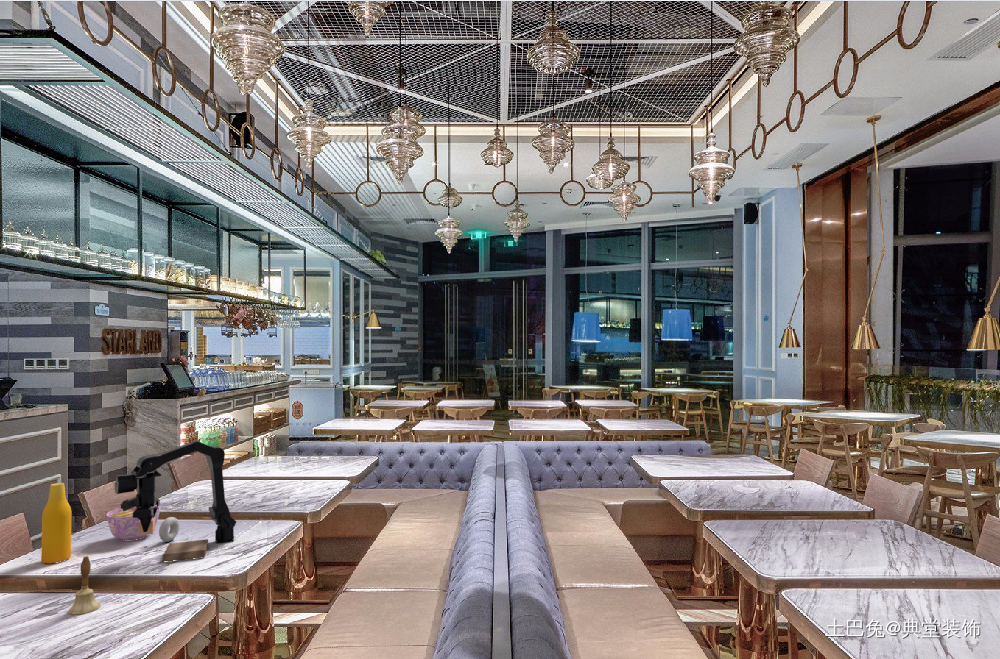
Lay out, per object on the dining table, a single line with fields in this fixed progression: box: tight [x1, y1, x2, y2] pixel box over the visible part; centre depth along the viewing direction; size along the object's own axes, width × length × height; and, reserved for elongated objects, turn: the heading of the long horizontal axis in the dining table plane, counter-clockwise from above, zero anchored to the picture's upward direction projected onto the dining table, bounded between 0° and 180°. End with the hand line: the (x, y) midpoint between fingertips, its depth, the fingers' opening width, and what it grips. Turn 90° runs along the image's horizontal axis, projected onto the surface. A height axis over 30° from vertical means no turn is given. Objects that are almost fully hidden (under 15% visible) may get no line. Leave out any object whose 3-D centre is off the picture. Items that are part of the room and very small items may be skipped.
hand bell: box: [67, 555, 101, 616], centre depth 185 cm, size 8×8×16 cm
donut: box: [158, 516, 180, 543], centre depth 251 cm, size 10×4×10 cm, turn 171°
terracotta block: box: [138, 517, 156, 536], centre depth 231 cm, size 5×5×5 cm
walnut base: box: [162, 538, 209, 563], centre depth 234 cm, size 14×14×3 cm
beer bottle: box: [40, 482, 73, 564], centre depth 229 cm, size 9×9×29 cm
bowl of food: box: [106, 505, 162, 542], centre depth 256 cm, size 20×20×12 cm
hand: (146, 530), depth 231 cm, fingers closed on terracotta block, 5 cm apart
